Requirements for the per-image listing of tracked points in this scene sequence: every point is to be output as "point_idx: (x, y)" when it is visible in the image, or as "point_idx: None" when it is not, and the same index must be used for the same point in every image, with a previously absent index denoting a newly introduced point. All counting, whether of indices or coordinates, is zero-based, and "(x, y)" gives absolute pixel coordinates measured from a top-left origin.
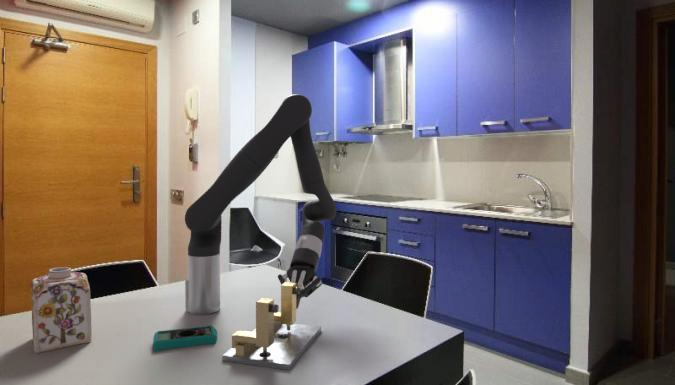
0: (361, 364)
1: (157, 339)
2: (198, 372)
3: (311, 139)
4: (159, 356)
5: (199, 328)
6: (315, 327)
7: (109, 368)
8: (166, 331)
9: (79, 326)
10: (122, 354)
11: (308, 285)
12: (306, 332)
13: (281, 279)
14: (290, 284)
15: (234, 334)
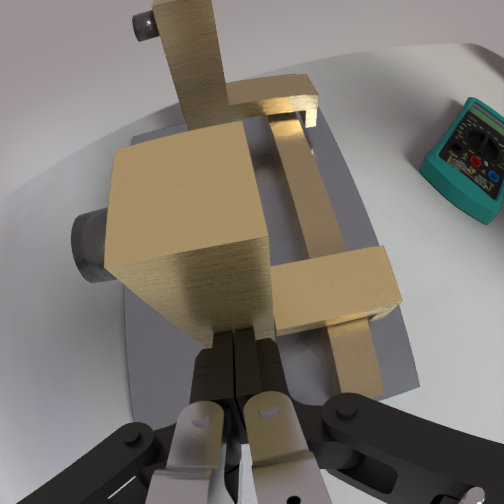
0: (4, 245)
1: (481, 105)
2: (315, 75)
3: None
4: (436, 96)
5: (497, 177)
6: (154, 421)
7: (440, 62)
8: None
9: None
10: (480, 93)
11: (92, 488)
12: (164, 352)
13: (480, 462)
14: (149, 179)
15: (303, 77)
